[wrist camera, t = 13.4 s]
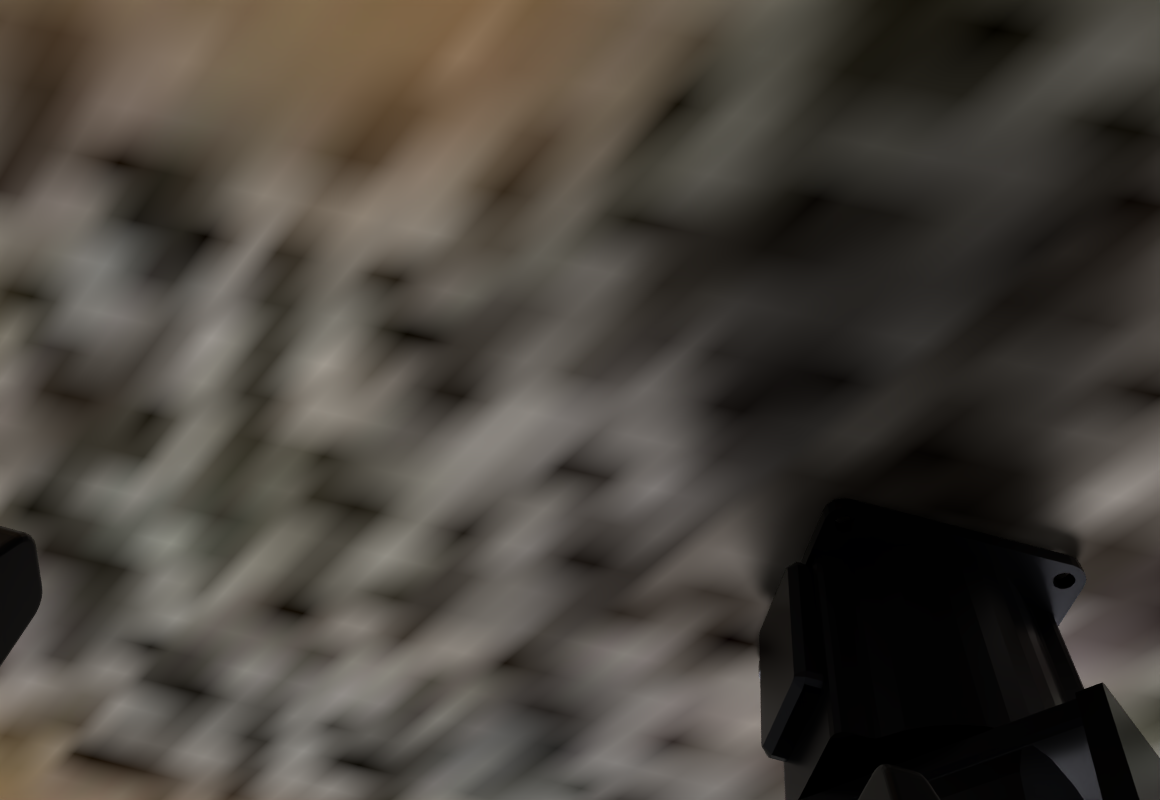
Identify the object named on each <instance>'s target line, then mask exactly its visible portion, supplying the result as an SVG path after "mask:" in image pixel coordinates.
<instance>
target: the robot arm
mask: <svg viewBox="0 0 1160 800" xmlns="http://www.w3.org/2000/svg"><path fill="white" fill-rule="evenodd" d="M841 516H849V517H851V518H852V519H851V520H850V521H849V522H846V523H839V522H837V521H836V519H837V518H838V517H841ZM1061 573H1069V574H1068V575H1067V576H1066V577H1063V578H1054V577H1055V576H1056V575H1058V574H1061ZM1085 582H1086V576H1085V573H1084V571H1083V569H1082V567H1081V565H1080V563H1079V562H1078V561H1077V560H1076V559H1075V558H1073V557H1071V556H1069V555H1065V554H1061V553H1057V552H1054V551H1050V550H1046V549H1042V548H1038V547H1034V546H1030V545H1026V544H1023V543H1019V542H1015V541H1011V540H1007V539H1003V538H999V537H995V536H991V535H988V534H984V533H980V532H976V531H972V530H968V529H964V528H960V527H957V526H953V525H949V524H945V523H941V522H937V521H933V520H929V519H925V518H922V517H918V516H914V515H910V514H906V513H902V512H898V511H894V510H890V509H887V508H883V507H879V506H875V505H871V504H867V503H863V502H859V501H856V500H852V499H844V498H841V499H837V500H834V501H832V502H830V503H829V504H827V506H826V507H825V509H824V510H823V513H822V515H821V517H820V520H819V522H818V524H817V527H816V529H815V531H814V534H813V536H812V538H811V541H810V543H809V545H808V548H807V550H806V552H805V555H804V557H803V560H802V562H801V563H798V562H796V563H794V564H792V565H791V566H789V567H787V568H786V570H785V573H784V575H783V578H782V580H781V582H780V585H779V587H778V590H777V592H776V594H775V597H774V599H773V602H772V604H771V606H770V609H769V611H768V614H767V616H766V618H765V621H764V623H763V626H762V628H761V630H760V661H759V678H760V688H761V743H762V748H763V749H764V751H765V753H766V754H767V756H768V757H769V758H772V759H776V760H780V761H784V780H785V800H1160V758H1159V757H1158V755H1157V754H1156V753H1155V751H1154V750H1153V748H1152V747H1151V746H1150V744H1149V743H1148V742H1147V740H1146V739H1145V738H1144V736H1143V735H1142V734H1141V732H1140V731H1139V730H1138V728H1137V727H1136V726H1135V724H1134V723H1133V722H1132V720H1131V719H1130V718H1129V716H1128V715H1127V714H1126V712H1125V711H1124V709H1123V708H1122V707H1121V705H1120V704H1119V703H1118V701H1117V700H1116V699H1115V697H1114V696H1113V695H1112V693H1111V692H1110V691H1109V689H1108V688H1107V687H1106V685H1105V684H1104V683H1100V684H1097V685H1094V686H1091V687H1089V688H1086V689H1084V687H1083V684H1082V682H1081V680H1080V677H1079V675H1078V673H1077V670H1076V668H1075V666H1074V663H1073V661H1072V659H1071V656H1070V654H1069V652H1068V649H1067V647H1066V645H1065V642H1064V640H1063V638H1062V635H1061V633H1060V630H1059V628H1058V626H1059V624H1060V623H1061V621H1062V619H1063V618H1064V616H1065V615H1066V613H1067V612H1068V610H1069V609H1070V607H1071V606H1072V604H1073V603H1074V601H1075V599H1076V598H1077V596H1078V595H1079V593H1080V592H1081V590H1082V589H1083V587H1084V585H1085ZM41 598H42V583H41V576H40V570H39V563H38V556H37V549H36V544H35V541H34V539H33V538H32V537H31V536H30V535H29V534H27V533H24V532H21V531H17V530H13V529H10V528H6V527H2V526H0V666H1V665H2V663H3V662H4V660H5V659H6V657H7V656H8V654H9V653H10V651H11V650H12V648H13V647H14V645H15V644H16V642H17V641H18V639H19V638H20V636H21V635H22V633H23V632H24V630H25V629H26V627H27V626H28V624H29V623H30V621H31V620H32V618H33V617H34V615H35V614H36V612H37V610H38V608H39V605H40V602H41Z"/></svg>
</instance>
